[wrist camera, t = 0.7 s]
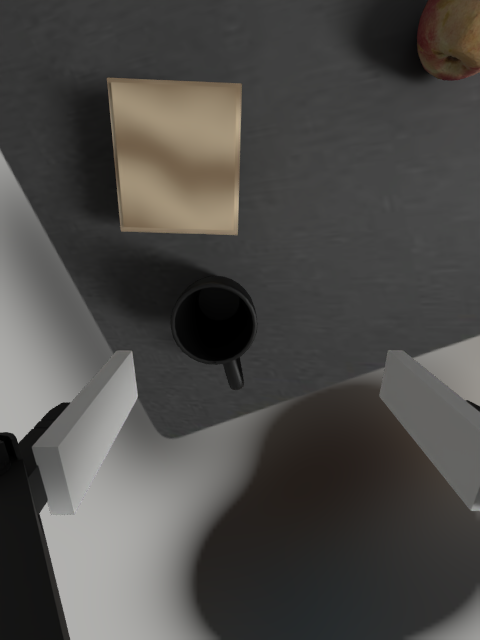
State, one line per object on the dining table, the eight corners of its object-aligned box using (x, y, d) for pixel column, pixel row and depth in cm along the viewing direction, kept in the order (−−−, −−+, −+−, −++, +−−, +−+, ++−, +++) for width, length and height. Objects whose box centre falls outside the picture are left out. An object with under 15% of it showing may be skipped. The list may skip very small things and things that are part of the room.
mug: (205, 363, 39) (197, 405, 30) (177, 277, 36) (157, 295, 27) (265, 348, 39) (274, 387, 30) (242, 259, 35) (245, 272, 26)
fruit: (384, 45, 29) (438, -18, 21) (453, -24, 27) (537, -118, 20) (426, 113, 31) (489, 78, 23) (492, 52, 29) (583, -7, 22)
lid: (120, 93, 27) (105, 75, 24) (241, 98, 27) (241, 82, 24) (131, 230, 31) (119, 231, 27) (237, 233, 31) (237, 235, 28)
